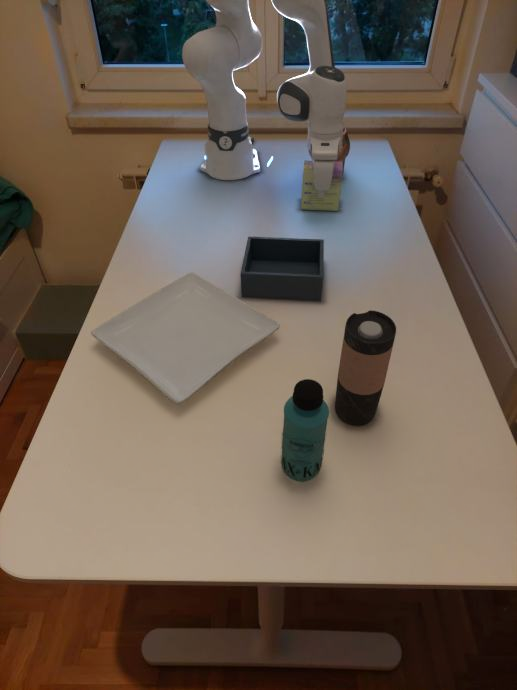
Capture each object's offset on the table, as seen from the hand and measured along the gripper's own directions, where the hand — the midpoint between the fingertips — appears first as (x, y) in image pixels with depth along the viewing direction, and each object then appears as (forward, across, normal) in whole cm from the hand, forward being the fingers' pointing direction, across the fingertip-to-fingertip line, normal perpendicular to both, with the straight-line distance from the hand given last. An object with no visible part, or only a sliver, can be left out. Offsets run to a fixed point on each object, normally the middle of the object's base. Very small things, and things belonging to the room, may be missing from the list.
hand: (321, 190), depth 137 cm
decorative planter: (+5, -20, +2) cm, 21 cm away
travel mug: (+5, +72, +7) cm, 72 cm away
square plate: (+5, +57, -26) cm, 63 cm away
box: (+5, 0, 0) cm, 5 cm away
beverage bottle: (+5, +85, -2) cm, 85 cm away
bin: (+5, +35, -8) cm, 36 cm away
